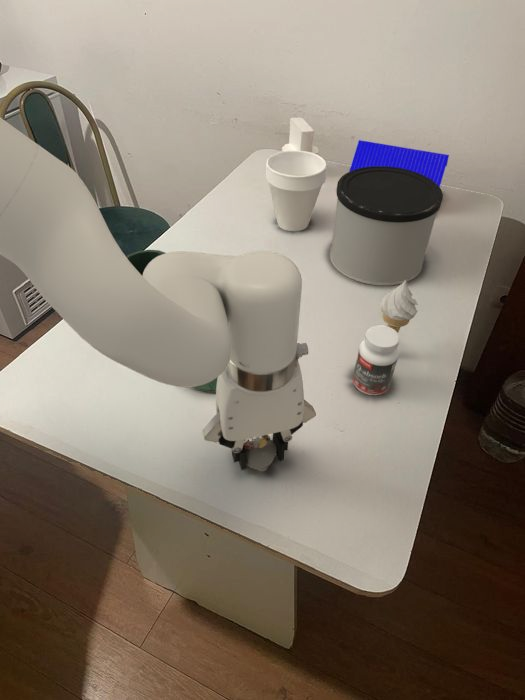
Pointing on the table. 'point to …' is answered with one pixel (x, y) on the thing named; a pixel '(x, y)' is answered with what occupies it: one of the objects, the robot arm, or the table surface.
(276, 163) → the cup
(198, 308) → the robot arm
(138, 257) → the trash can
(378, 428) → the table surface
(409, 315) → the ice cream cone
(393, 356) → the pill bottle
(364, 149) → the blue corrugated sheet
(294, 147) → the cylinder with rectangular tab
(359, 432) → the table surface
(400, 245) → the container
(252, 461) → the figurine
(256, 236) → the table surface
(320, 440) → the table surface
